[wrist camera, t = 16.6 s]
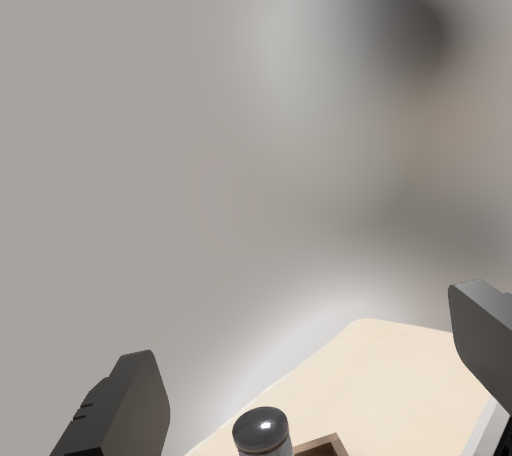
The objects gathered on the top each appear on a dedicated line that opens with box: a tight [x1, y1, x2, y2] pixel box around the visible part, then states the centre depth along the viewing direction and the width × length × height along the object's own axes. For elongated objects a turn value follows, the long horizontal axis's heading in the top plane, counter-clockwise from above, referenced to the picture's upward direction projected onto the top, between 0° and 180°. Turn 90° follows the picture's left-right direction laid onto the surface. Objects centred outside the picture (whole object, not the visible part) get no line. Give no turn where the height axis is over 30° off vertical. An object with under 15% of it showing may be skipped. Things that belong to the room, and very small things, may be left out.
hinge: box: [460, 396, 512, 456], centre depth 38 cm, size 17×5×10 cm, turn 136°
